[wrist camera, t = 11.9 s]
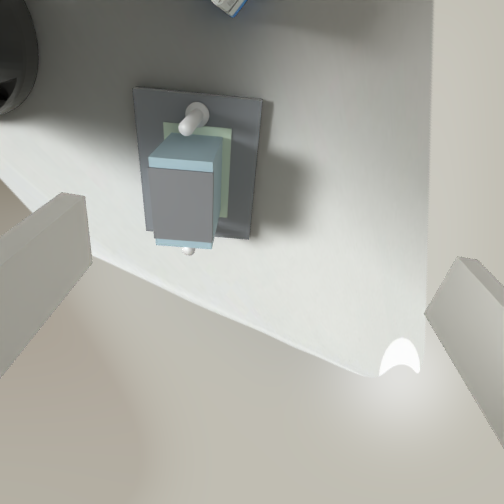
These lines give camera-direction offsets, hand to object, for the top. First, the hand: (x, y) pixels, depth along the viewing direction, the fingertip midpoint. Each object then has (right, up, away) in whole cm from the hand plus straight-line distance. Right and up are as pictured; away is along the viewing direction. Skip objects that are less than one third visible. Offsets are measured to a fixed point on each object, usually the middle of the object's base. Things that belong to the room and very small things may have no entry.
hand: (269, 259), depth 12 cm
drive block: (-6, +8, +23) cm, 25 cm away
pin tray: (-6, +9, +24) cm, 26 cm away
